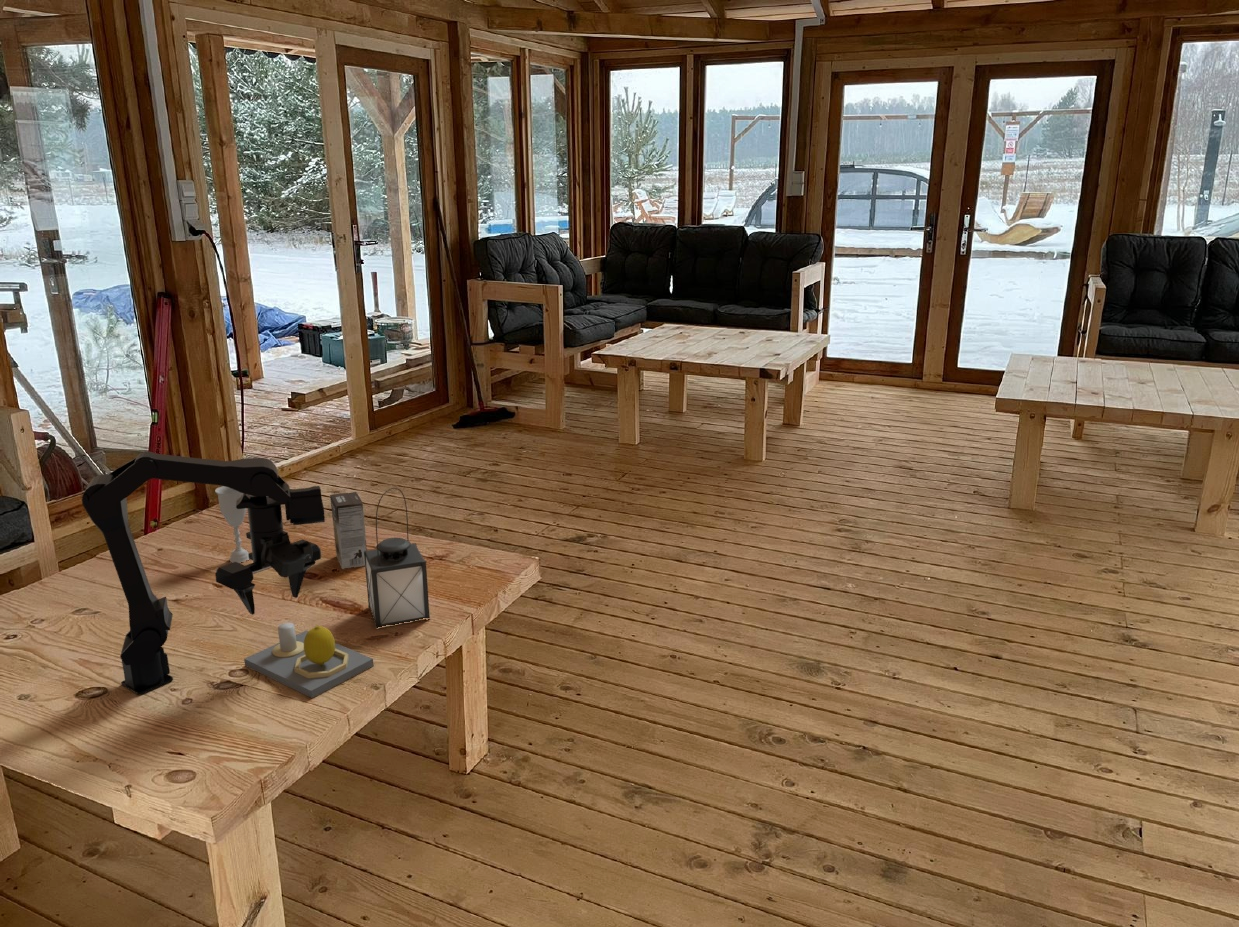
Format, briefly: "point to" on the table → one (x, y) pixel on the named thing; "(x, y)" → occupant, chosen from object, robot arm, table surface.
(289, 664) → the board
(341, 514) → the coffee box
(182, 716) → the table surface
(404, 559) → the lantern
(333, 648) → the lemon
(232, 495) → the chalice
